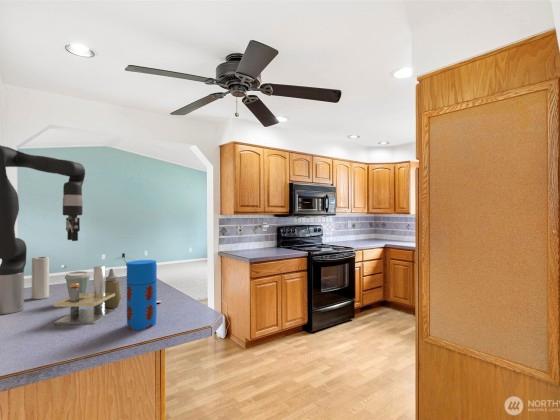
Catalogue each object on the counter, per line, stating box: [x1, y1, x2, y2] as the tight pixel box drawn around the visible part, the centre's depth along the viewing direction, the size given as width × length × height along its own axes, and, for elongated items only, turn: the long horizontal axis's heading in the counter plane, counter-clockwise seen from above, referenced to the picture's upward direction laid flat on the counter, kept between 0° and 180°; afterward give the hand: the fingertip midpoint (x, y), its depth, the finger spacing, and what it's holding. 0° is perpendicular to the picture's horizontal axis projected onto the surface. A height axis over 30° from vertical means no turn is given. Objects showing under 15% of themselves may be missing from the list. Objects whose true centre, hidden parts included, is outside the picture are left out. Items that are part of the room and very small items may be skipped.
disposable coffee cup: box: [64, 270, 91, 298], centre depth 151 cm, size 11×11×15 cm
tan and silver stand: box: [53, 265, 116, 325], centre depth 130 cm, size 16×16×21 cm
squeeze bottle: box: [105, 268, 122, 309], centre depth 144 cm, size 8×8×18 cm
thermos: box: [126, 259, 158, 331], centre depth 120 cm, size 11×11×25 cm
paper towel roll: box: [31, 256, 50, 300], centre depth 160 cm, size 7×6×21 cm
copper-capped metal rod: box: [69, 283, 80, 319], centre depth 127 cm, size 3×3×14 cm
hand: (72, 240), depth 139 cm, fingers open, 8 cm apart
